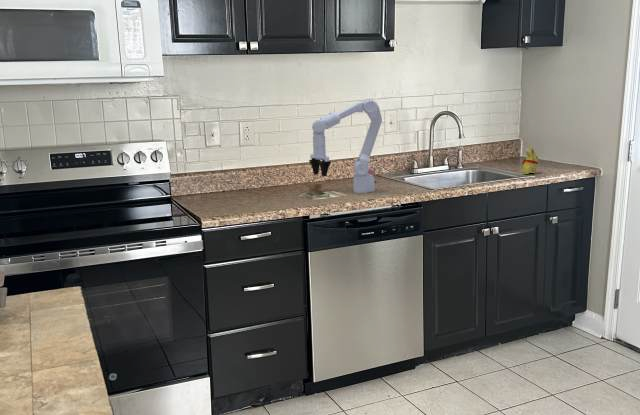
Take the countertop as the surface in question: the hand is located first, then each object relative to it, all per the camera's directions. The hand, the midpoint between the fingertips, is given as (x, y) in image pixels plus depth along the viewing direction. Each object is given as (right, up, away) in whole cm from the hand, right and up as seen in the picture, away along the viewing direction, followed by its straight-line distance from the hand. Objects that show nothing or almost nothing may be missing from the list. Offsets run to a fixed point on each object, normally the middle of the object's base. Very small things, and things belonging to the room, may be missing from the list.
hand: (320, 175), depth 298 cm
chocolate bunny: (+112, +3, +44) cm, 121 cm away
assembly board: (+1, -10, -4) cm, 11 cm away
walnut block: (-2, -10, -6) cm, 12 cm away
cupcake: (+25, -2, +33) cm, 41 cm away
